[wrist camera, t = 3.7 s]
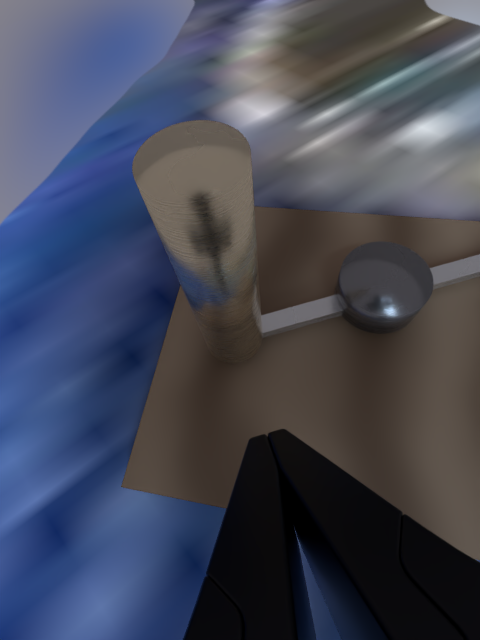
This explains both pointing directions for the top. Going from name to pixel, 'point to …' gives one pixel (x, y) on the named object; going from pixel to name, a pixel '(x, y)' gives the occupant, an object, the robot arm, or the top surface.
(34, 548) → the top surface
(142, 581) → the top surface
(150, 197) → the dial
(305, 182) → the top surface
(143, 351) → the top surface
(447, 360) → the brown flat board
